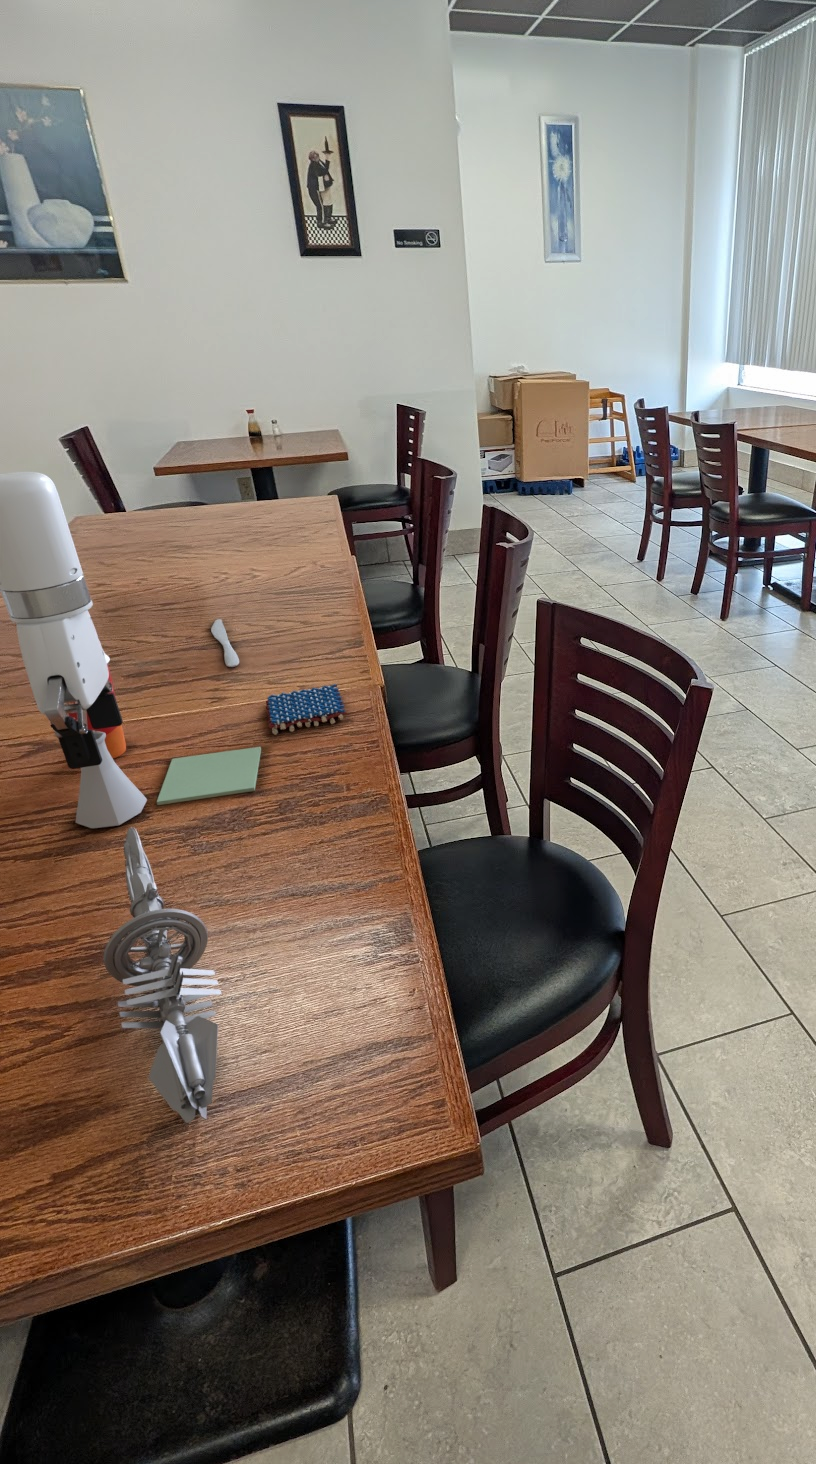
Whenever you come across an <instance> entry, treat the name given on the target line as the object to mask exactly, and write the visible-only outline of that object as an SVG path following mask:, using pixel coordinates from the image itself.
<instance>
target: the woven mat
mask: <svg viewBox="0 0 816 1464" xmlns="http://www.w3.org/2000/svg"><path fill="white" fill-rule="evenodd" d="M343 703H344V701H343V700H342V696H341V692H340V691H339V688H338V683H337V684H336V683H335V684H332V685H329V684H328V685H323V686H320V687H319V688H317V687H312V688H308V689H301V690H292V691H289V692H288V693H285V692H281V694H279V693H278V694H271V695H269V696H268V697H267V700H265V704H266V706H265V709H266V714H267V718H268V719H267V720H268V721H267V723H268V727H269V729H271V731H272V734H273V735H275V736H276V735H278V734H279V730H278V729H280V730H282V731H284V730H287V728H288V730H289V732H292V733H293V732H295V726H294V725H296V726H297V727H298V729H299V728H302V727H303V723H304V724H305V727H306V728H310V727H311V723H312V722H313V726H314V727H319V724H320V723H319V722H321V723H327V722H328V720H329V722H330V724H331V725H335V723H336V720H335V718H336V717H337V719H338V720H340V721H342V720H343V719H344V715H347V712H346V709H345V705H344V704H343Z"/></svg>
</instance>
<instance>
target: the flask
mask: <svg viewBox="0 0 816 1464" xmlns="http://www.w3.org/2000/svg"><path fill="white" fill-rule="evenodd" d="M93 733H94V736H95V739H96V742H97V745H98V748H99V751H100V754H101V757H102V762H101V764H100V765H96V766H89V767H83V768H80V781H79V782H80V783H79V790H78V791H79V792H78V802H77V806H76V813H75V824H78V825H81V826H84V827H86V828H89V829H98V828H100V829H101V828H109V827H115V826H120V825H123V824H125V822H127V821H129V820H131V819H132V818H134V817H135V816H137V815H139V814H142V811H143V809H144V807H145V805H146V803H147V801H148V799H147V797H146V796H145V795H144V794H143V793H142V792H141V790H140V789H138V787H137V786H136V785H135V784H134V783H133V782H132V781H131V780H130V778H129V777H128V776H127V775H126V773H124V772H123V771H122V769H121V767H119V765H118V764H117V763H116V762H115V760H114V759H113V758H112V757H111V755H110V753H109V752H108V750H107V747H106V744H105V740H104V739H105V738H106V734H105V733H104V732H100V731H93Z"/></svg>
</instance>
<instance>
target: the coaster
mask: <svg viewBox="0 0 816 1464" xmlns="http://www.w3.org/2000/svg"><path fill="white" fill-rule="evenodd" d="M261 754H262V746H254V747H247V748H239V749H232V750H225V751H218V752H210V753H204V754H197V755H189V756H182V757H175V758H171V760H170V763H169V766H168V769H167V772H166V774H165V776H164V780H163V783H162V785H161V788H160V791H159V793H158V797H157V800H156V806H163V805H169V804H177V803H182V802H183V803H184V802H189V801H195V800H196V801H197V800H203V799H209V798H216V797H224V796H229V795H236V794H242V793H250V792H255V791H256V785H257V779H258V774H259V766H260V761H261Z"/></svg>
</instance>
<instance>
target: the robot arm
mask: <svg viewBox="0 0 816 1464" xmlns="http://www.w3.org/2000/svg"><path fill="white" fill-rule="evenodd" d="M0 594H1V596H2V599H3V602H4V605H5V608H6V610H7V613H8V616H9V619H10V621H11V622H12V623H14V624H16V632H17V640H18V644H19V649H20V653H21V657H22V660H23V665H24V667H25V671H26V674H27V678H28V681H29V685H30V688H31V692H32V695H33V697H34V698H33V699H34V700H35V704H36V707H37V709H38V712H39V713H41V714H42V715H44V716H46V718H47V719H48V720H49V721H50V724H49V725H50V728H51V729H52V730H53V731H54V735H55V737H56V738H57V739H58V742H59V745H60V748H61V750H62V753H63V755H64V759H65V761H66V764H67V767H68V768H69V769H72V770H75V769H81V768H83V767H89V766H96V765H100V764H101V762H102V757H101V754H100V751H99V748H98V745H97V742H96V739H95V736H94V733H93V730H92V729H89V730H88V726H87V713H88V716H89V719H90V722H91V725H92V728H93V729H102V728H109V727H116V726H120V725H121V724H122V725H123V723H124V720H123V717H122V715H121V711H120V708H119V705H118V702H117V698H115V697H116V694H115V695H114V693H109V692H112V691H113V688H114V687H113V688H112V684H111V682H110V681H109V680H108V677H109V671H108V666H109V665H108V666H107V662H106V659H105V655H104V653H105V651H104V649H103V646H102V643H101V641H100V638H99V635H98V633H97V632H98V631H97V630H96V627H95V625H94V621H93V619H92V616H91V614H90V612H89V610H91V608H92V607H93V605H94V602H93V599H92V597H91V594H90V591H89V587H88V584H87V581H86V578H85V574H84V572H83V569H82V566H81V562H80V559H79V555H78V553H77V549H76V546H75V543H74V540H73V536H72V533H71V530H70V527H69V524H68V521H67V517H66V514H65V511H64V508H63V506H62V502H61V498H60V495H59V492H58V490H57V487H56V485H55V482H54V481H53V480H52V479H51V478H50V477H49V476H48V475H46V474H44V473H42V472H36V471H13V472H5V473H0ZM103 651H104V652H103ZM75 701H78V703H77V704H70V705H64V703H68V702H75ZM86 710H87V711H86ZM76 712H77V721H78V722H77V721H76V720H75V719H73V718H72V717H71V716H68V717H67V716H66V714H69V713H76Z"/></svg>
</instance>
